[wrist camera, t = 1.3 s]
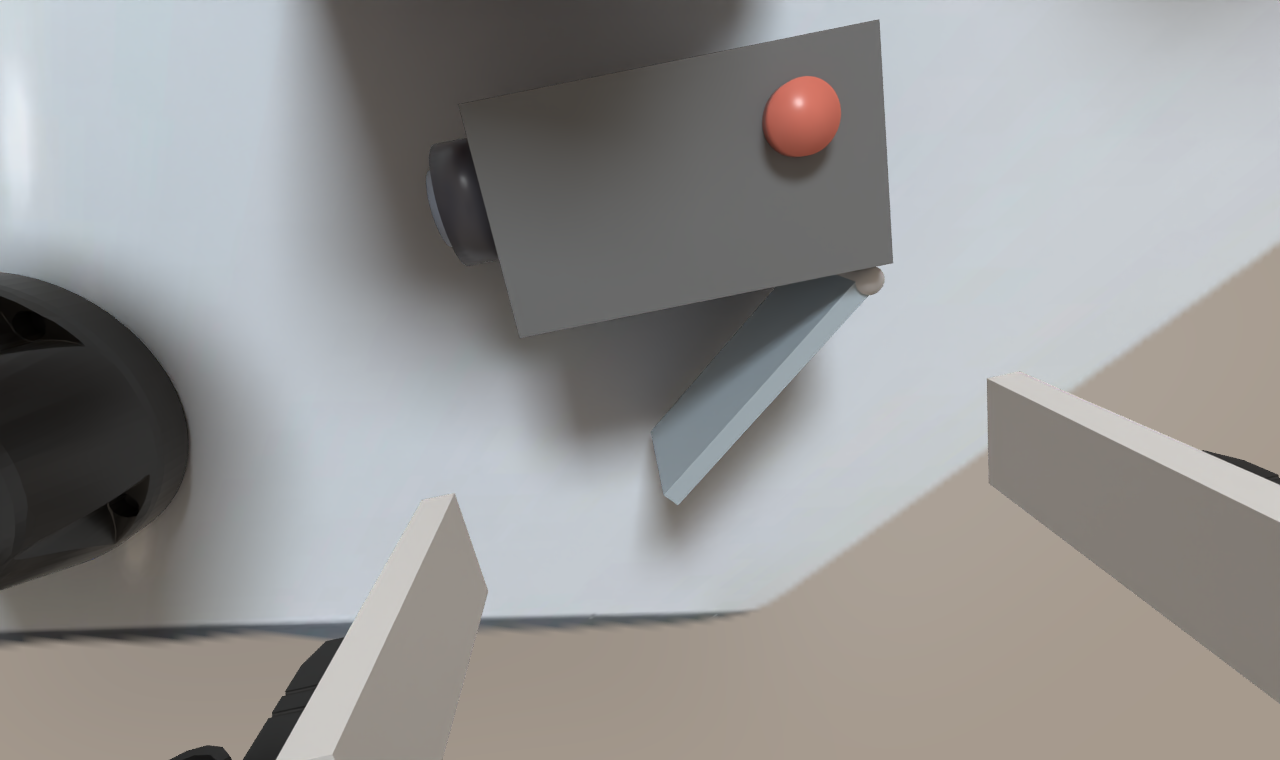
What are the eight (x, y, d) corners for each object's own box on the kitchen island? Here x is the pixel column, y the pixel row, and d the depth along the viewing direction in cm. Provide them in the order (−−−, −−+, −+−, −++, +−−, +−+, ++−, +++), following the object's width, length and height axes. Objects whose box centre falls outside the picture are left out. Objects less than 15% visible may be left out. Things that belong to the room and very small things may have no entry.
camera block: (495, 308, 31) (448, 361, 21) (449, 140, 28) (374, 116, 19) (811, 245, 31) (903, 270, 21) (794, 70, 28) (890, 12, 19)
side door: (668, 444, 32) (687, 512, 26) (648, 429, 32) (661, 494, 25) (829, 262, 30) (896, 284, 23) (808, 243, 30) (870, 260, 23)
